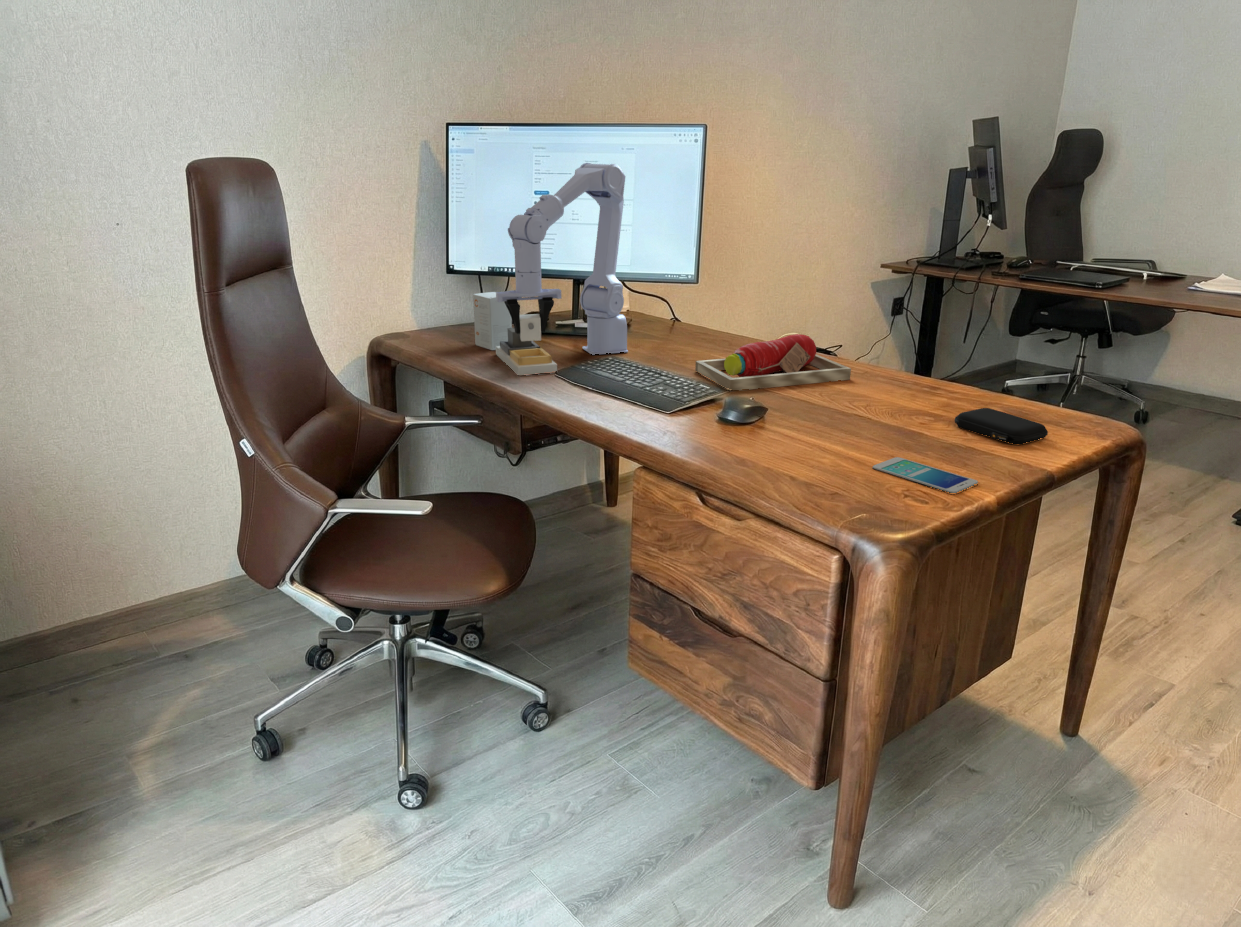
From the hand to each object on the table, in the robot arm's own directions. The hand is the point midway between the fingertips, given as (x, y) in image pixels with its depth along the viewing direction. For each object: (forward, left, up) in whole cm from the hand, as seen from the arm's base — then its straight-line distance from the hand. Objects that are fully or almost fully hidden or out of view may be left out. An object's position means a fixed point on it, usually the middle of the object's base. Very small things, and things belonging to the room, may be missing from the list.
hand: (530, 331), depth 206 cm
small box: (+3, -25, -9) cm, 27 cm away
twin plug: (0, -10, -6) cm, 12 cm away
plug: (0, 0, -2) cm, 2 cm away
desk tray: (-49, +24, -8) cm, 55 cm away
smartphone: (-41, +88, -9) cm, 97 cm away
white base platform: (0, -5, -8) cm, 10 cm away
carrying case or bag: (-68, +74, -9) cm, 101 cm away
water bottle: (-50, +23, -9) cm, 56 cm away
